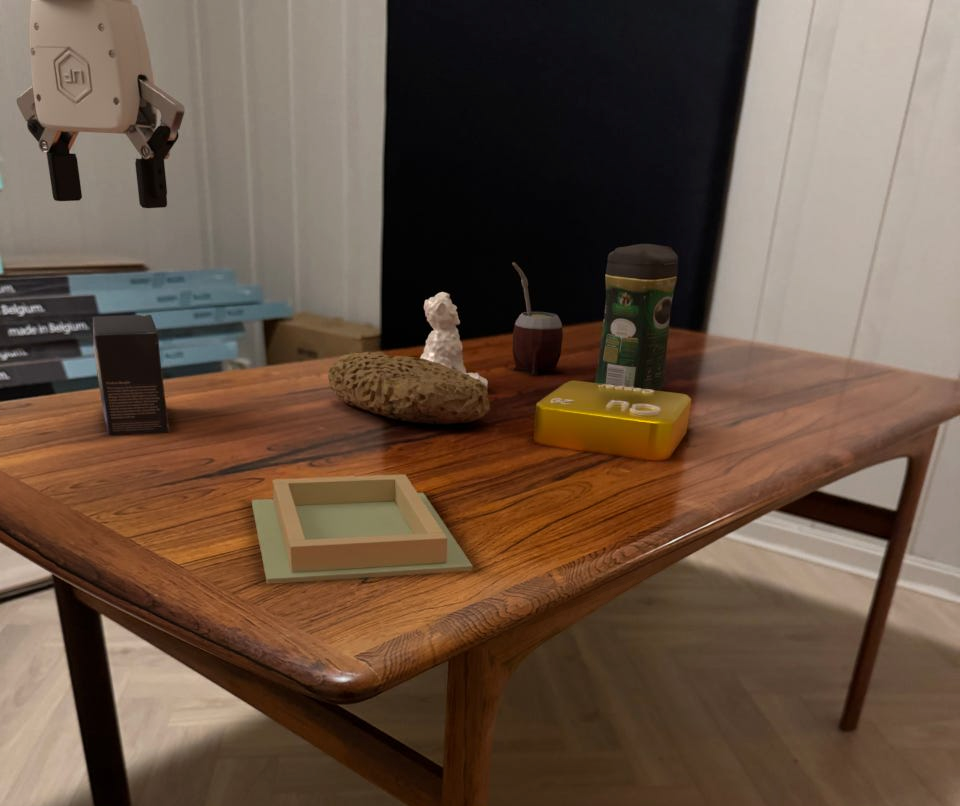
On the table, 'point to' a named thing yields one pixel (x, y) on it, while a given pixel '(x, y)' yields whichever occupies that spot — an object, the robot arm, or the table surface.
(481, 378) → the white creature statuette
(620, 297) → the coffee jar
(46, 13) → the robot arm
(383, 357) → the sponge
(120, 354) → the small box
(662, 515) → the table surface
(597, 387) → the element tile
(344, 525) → the tan shallow square tray
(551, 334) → the mate gourd
